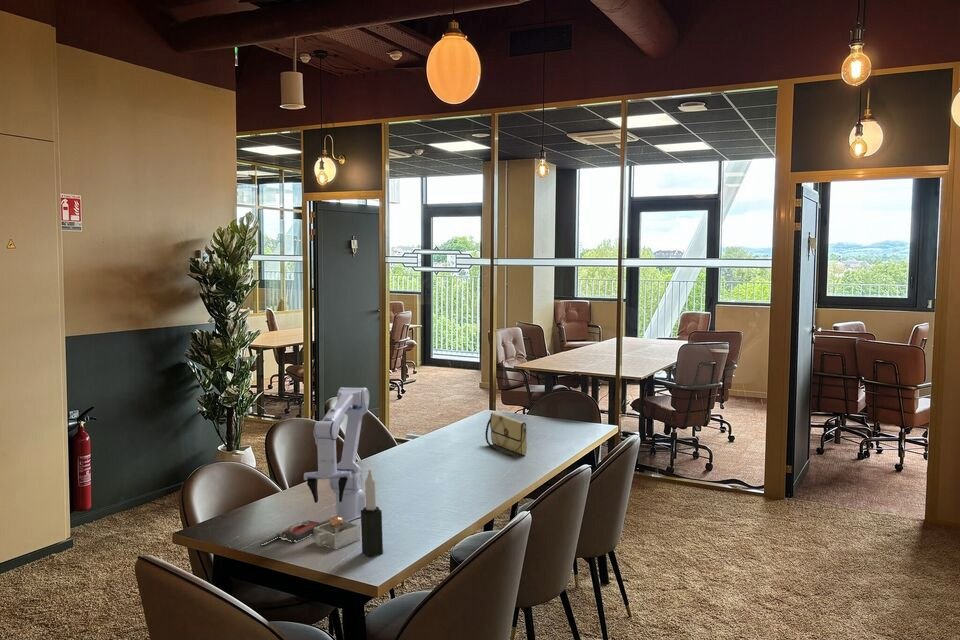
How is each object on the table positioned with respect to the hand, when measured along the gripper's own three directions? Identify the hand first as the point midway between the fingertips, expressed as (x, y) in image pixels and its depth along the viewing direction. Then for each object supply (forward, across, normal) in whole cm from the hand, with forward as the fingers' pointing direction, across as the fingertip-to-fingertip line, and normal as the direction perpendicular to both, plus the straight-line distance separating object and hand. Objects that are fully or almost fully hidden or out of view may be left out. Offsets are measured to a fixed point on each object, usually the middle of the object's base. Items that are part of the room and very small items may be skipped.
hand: (328, 501), depth 233 cm
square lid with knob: (+10, +3, -6) cm, 13 cm away
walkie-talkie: (+11, -11, -3) cm, 16 cm away
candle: (+11, +16, -17) cm, 25 cm away
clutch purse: (+9, +62, +97) cm, 115 cm away
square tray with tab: (+10, +3, -6) cm, 13 cm away
